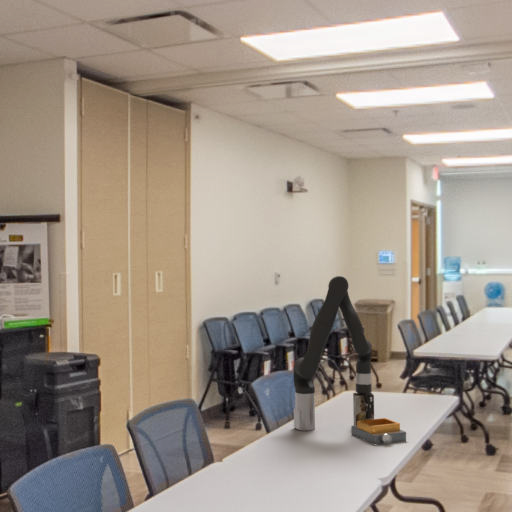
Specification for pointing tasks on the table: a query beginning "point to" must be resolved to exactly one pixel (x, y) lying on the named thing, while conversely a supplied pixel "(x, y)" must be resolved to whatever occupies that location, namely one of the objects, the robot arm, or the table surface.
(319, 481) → the table surface
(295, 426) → the robot arm
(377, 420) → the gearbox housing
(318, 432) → the table surface
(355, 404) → the coffee box
